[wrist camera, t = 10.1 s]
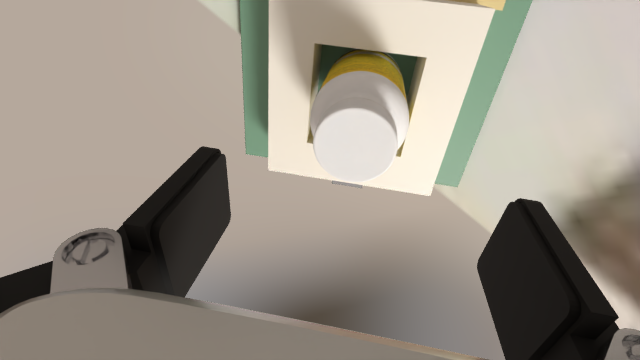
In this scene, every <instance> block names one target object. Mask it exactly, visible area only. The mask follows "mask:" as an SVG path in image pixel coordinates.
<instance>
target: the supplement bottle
mask: <svg viewBox="0 0 640 360" xmlns="http://www.w3.org/2000/svg"><path fill="white" fill-rule="evenodd" d="M310 126H311V131H312V135H313V149H314V153H315V156H316V159H317V161H318V162H319V164H320V165H321V167H322V168H323V169H324V170H325V171H326V172H328V173H329V174H330V175H332V176H333V177H335V178H337V179H340V180H343V181H347V182H365V181H369V180H372V179H375V178H377V177H378V176H380V175H381V174H383V173H384V172H385V171H387V169H388V168H389V167H390V166H391V164H392V163H393V161H394V159H395V156H396V154H397V150H398V149H399V148H400V146H401V145H402V143H403V142H404V140H405V138H406V135H407V132H408V128H409V111H408V105H407V99H406V94H405V88H404V82H403V77H402V73H401V70H400V68H399V66H398V65H397V63H396V62H395V60H394V59H393V58H392V57H391V56H390V55H388V54H387V53H385V52H379V51H371V50H364V49H353V50H350V51H348V52H346V53H345V54H343V55H342V56H341V57H340V58H338V59H337V60H336V62H335V63H334V64H333V66H332V67H331V69H330V71H329V72H328V74H327V76H326V78H325V80H324V82H323V84H322V86H321V88H320V90H319V91H318V93H317V95H316V97H315V100H314V103H313V105H312V109H311V114H310Z"/></svg>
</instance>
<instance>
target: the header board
mask: <svg viewBox="0 0 640 360" xmlns="http://www.w3.org/2000/svg"><path fill="white" fill-rule="evenodd" d="M531 3H532V0H240V21H241V41H242V42H241V44H242V45H241V46H242V69H243V70H242V71H243V95H244V120H245V141H246V142H245V144H246V154H249V155H256V156H263V157H268V170H271V171H277V172H283V173H289V174H296V175H302V176H308V177H315V178H321V179H327V180H332V183H333V184H339V185H345V186H351V187H358V188H362V186H363V185H364V186H371V187H378V188H383V189H389V190H396V191H402V192H408V193H415V194H421V195H427V196H430V195H431V192H432V189H433V186H434V184H441V185H447V186H453V187H458V185H459V182H460V180H461V177H462V175H463V172H464V170H465V167H466V165H467V162H468V160H469V157H470V155H471V152H472V150H473V147H474V145H475V142H476V140H477V137H478V135H479V132H480V130H481V127H482V125H483V122H484V120H485V117H486V115H487V112H488V110H489V107H490V105H491V102H492V100H493V97H494V95H495V92H496V90H497V88H498V85H499V83H500V80H501V78H502V75H503V73H504V70H505V68H506V65H507V63H508V60H509V58H510V55H511V53H512V50H513V48H514V45H515V43H516V40H517V38H518V35H519V33H520V30H521V28H522V25H523V23H524V20H525V18H526V15H527V13H528V10H529V8H530V5H531ZM353 49H364V50H371V51H379V52H385V53H387V54H388V55H390V56H391V57H392V58H393V59H394V60H395V62H396V63H397V65H398V66H399V68H400V70H401V73H402V77H403V82H404V88H405V94H406V99H407V105H408V111H409V128H408V132H407V135H406V138H405V140H404V142H403V143H402V145H401V146H400V148H399V149H398V150H397V154H396V156H395V159H394V161H393V163H392V164H391V166H390V167H389V168H388V169H387V171H385V172H384V173H383V174H381V175H380V176H378V177H377V178H375V179H372V180H369V181H365V182H347V181H343V180H340V179H337V178H335V177H333V176H332V175H330V174H329V173H328V172H326V171H325V170H324V169H323V168H322V167H321V165H320V164H319V162H318V161H317V159H316V156H315V153H314V149H313V135H312V131H311V126H310V114H311V109H312V105H313V103H314V100H315V97H316V95H317V93H318V91H319V90H320V88H321V86H322V84H323V82H324V80H325V78H326V76H327V74H328V72H329V71H330V69H331V67H332V66H333V64H334V63H335V62H336V60H337V59H338V58H340V57H341V56H342V55H343V54H345V53H346V52H348V51H350V50H353Z"/></svg>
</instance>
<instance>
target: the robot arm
mask: <svg viewBox="0 0 640 360" xmlns="http://www.w3.org/2000/svg"><path fill="white" fill-rule="evenodd" d="M229 201H230V200H229V189H228V178H227V167H226V157H225V155H224V154H221V151H220V150H219V149H215V148H209V147H201V148H199V149H198V150H197V151H196V152H195V153H194V154H193V155H192V156H191V157H190V158H189V159H188V160H187V161H186V162H185V163H184V164H183V165H182V166H181V167H180V168H179V169H178V170H177V171H176V172H175V173H174V174H173V175H172V176H171V177H170V178H169V179H168V180H166V182H164V184H162V186H160V187H159V188H158V189H157V190H156V191H155V192H154V193H153V194H152V195H151V196H150V197H149V198H148V199H147V200H146V201H145V202H144V203H143V204H142V205H141V206H140V207H139V208H138V209H137V210H136V211H135V212H134V213H133V214H132V215H131V216H130V217H129V218H128V219H127V220H126V221H125V222H124V223H123V225H122V226H121V227H120V228H119V229H118V230H117V231H115V230H112V229H108V228H96V229H90V230H86V231H83V232H80V233H78V234H76V235H74V236H72V237H70V238H68V239H67V240H66V241H64V242H63V243H62V244H61V245H60V246H59V247H58V248H57V250H56V251H55V254H54V257H53V261H51V262H48V263H45V264H42V265H39V266H35V267H32V268H30V269H26V270H23V271H20V272H17V273H14V274H11V275H7V276H4V277H1V278H0V360H488V359H483V358H479V357H474V356H469V355H465V354H460V353H455V352H450V351H446V350H441V349H436V348H431V347H426V346H422V345H417V344H413V343H408V342H403V341H398V340H393V339H389V338H384V337H379V336H374V335H369V334H365V333H360V332H354V331H350V330H344V329H340V328H335V327H331V326H326V325H320V324H316V323H311V322H306V321H301V320H296V319H292V318H286V317H282V316H277V315H271V314H267V313H261V312H257V311H252V310H246V309H242V308H237V307H231V306H226V305H222V304H216V303H212V302H206V301H201V300H195V299H190V298H185V296H186V294H187V292H188V291H189V289H190V287H191V286H192V284H193V283H194V281H195V279H196V278H197V276H198V274H199V273H200V271H201V269H202V267H203V266H204V264H205V263H206V261H207V259H208V258H209V256H210V254H211V253H212V251H213V249H214V248H215V246H216V244H217V243H218V241H219V239H220V238H221V236H222V234H223V233H224V231H225V229H226V228H227V226H228V224H229V222H230V217H231V212H230V202H229ZM477 269H478V273H479V276H480V280H481V283H482V286H483V289H484V292H485V295H486V299H487V302H488V305H489V308H490V312H491V315H492V318H493V321H494V324H495V328H496V331H497V334H498V337H499V340H500V344H501V346H502V350H503V353H504V356H505V359H506V360H640V331H638V330H635V329H628V328H624V329H619V328H618V326H617V325H616V323H615V322H614V321H615V320H617V319H618V318H619V317H618V315H617V314H616V312H615V311H614V309H613V308H612V307H611V305H610V304H609V302H608V301H607V299H606V298H605V296H604V295H603V293H602V292H601V290H600V289H599V287H598V286H597V284H596V283H595V281H594V280H593V278H592V277H591V275H590V274H589V273H588V271H587V270H586V268H585V267H584V265H583V264H582V262H581V261H580V259H579V258H578V256H577V255H576V253H575V252H574V250H573V249H572V247H571V246H570V244H569V243H568V241H567V240H566V238H565V237H564V236H563V234H562V233H561V231H560V230H559V228H558V227H557V225H556V224H555V222H554V221H553V219H552V218H551V216H550V215H549V213H548V212H547V210H546V209H545V207H544V206H543V204H542V203H541V202H538V201H533V200H527V199H521V198H520V199H517V200H516V201H515V202H510V203H509V204H508V206H507V208H506V210H505V211H504V213H503V215H502V217H501V219H500V221H499V223H498V224H497V226H496V228H495V230H494V232H493V234H492V236H491V237H490V239H489V241H488V243H487V245H486V247H485V248H484V250H483V252H482V254H481V256H480V258H479V260H478V264H477Z"/></svg>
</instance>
